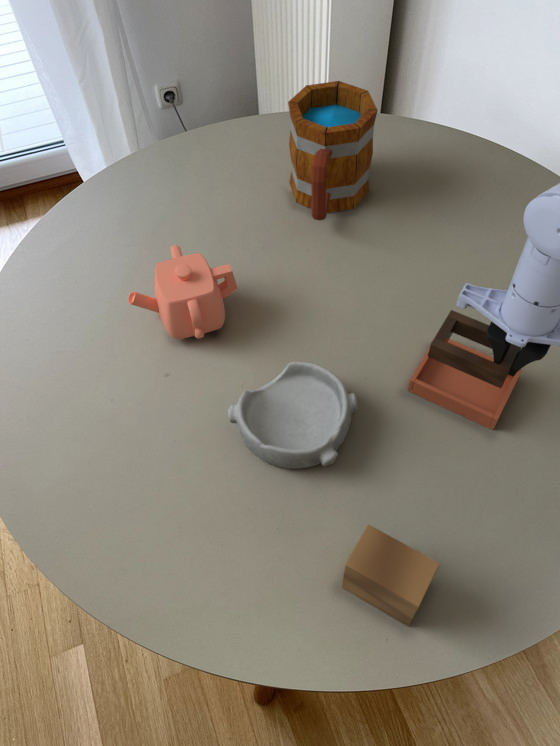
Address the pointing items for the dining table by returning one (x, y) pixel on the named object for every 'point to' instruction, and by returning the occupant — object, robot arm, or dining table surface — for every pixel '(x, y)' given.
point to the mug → (331, 146)
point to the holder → (461, 389)
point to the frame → (466, 359)
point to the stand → (388, 574)
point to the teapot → (188, 294)
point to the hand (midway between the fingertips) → (506, 366)
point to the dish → (295, 417)
